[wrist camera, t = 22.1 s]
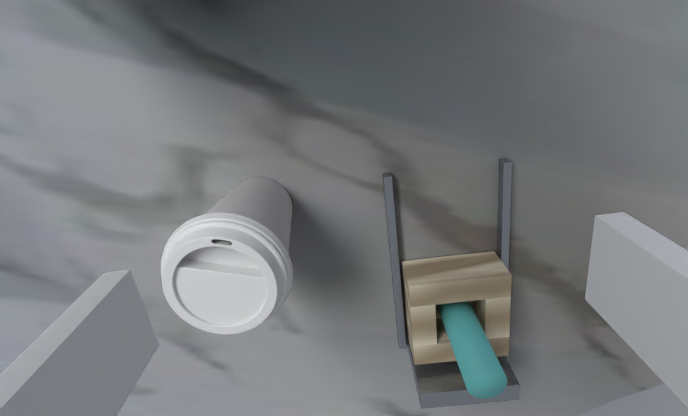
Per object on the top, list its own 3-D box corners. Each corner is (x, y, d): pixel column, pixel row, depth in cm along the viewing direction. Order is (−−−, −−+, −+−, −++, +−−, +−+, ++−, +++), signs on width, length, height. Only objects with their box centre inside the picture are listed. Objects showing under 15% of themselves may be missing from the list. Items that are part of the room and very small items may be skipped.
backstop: (382, 173, 40) (391, 202, 33) (507, 158, 40) (545, 184, 32) (399, 354, 49) (409, 409, 41) (501, 344, 48) (530, 398, 41)
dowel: (436, 313, 45) (466, 400, 34) (434, 287, 44) (466, 370, 33) (466, 310, 45) (506, 396, 34) (465, 284, 44) (507, 365, 33)
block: (401, 261, 44) (408, 286, 39) (494, 251, 43) (511, 275, 39) (407, 334, 47) (414, 364, 43) (492, 325, 47) (508, 355, 42)
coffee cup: (324, 191, 41) (314, 267, 27) (280, 262, 44) (252, 362, 30) (238, 144, 39) (181, 199, 25) (200, 221, 42) (129, 308, 28)
